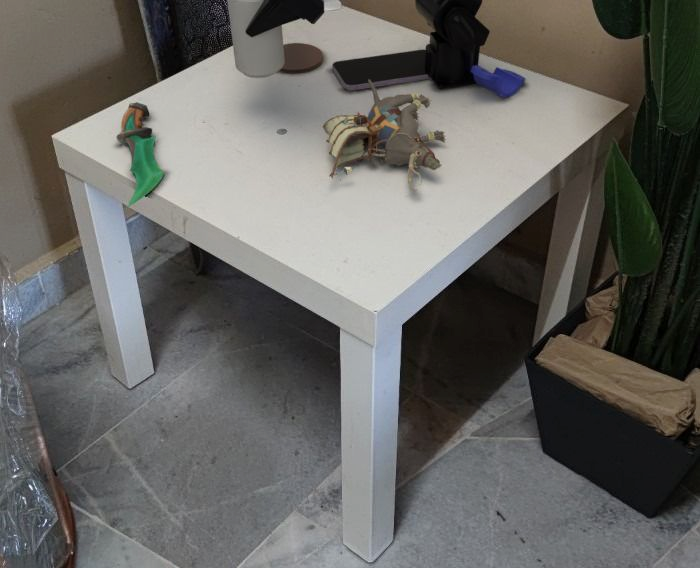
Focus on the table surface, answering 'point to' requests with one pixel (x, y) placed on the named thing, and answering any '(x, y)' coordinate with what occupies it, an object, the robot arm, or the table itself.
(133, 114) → the knife
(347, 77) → the smartphone
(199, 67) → the table surface
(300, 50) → the coaster
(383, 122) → the figurine
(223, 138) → the table surface
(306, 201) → the table surface
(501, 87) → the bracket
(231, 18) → the beverage can
